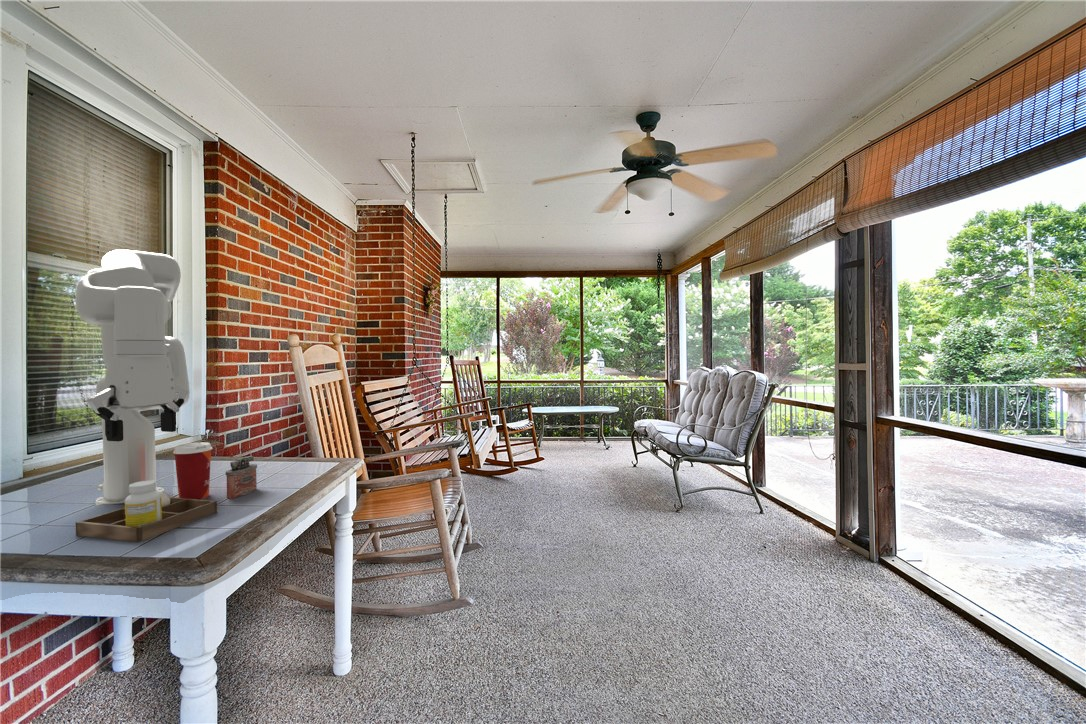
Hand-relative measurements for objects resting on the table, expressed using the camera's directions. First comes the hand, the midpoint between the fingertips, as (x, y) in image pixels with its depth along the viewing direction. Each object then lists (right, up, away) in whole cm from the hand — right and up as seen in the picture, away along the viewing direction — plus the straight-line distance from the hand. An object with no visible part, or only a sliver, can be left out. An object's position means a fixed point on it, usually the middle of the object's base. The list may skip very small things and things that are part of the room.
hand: (143, 435), depth 88 cm
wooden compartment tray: (-3, -20, +5) cm, 21 cm away
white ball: (-6, -19, +9) cm, 22 cm away
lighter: (+3, -20, +24) cm, 31 cm away
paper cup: (-6, -20, +21) cm, 30 cm away
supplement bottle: (0, -19, 0) cm, 19 cm away
